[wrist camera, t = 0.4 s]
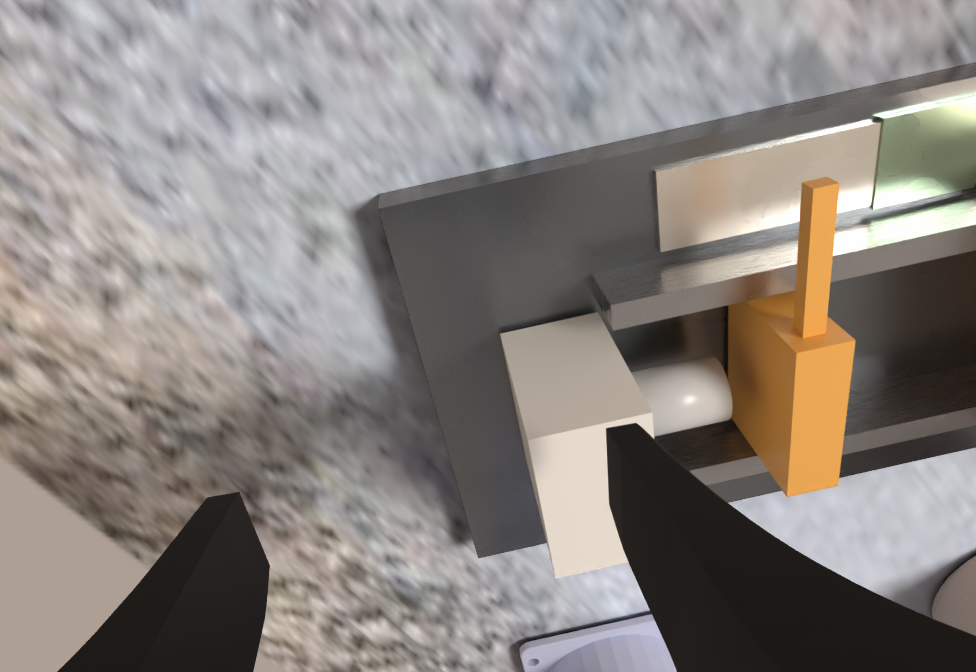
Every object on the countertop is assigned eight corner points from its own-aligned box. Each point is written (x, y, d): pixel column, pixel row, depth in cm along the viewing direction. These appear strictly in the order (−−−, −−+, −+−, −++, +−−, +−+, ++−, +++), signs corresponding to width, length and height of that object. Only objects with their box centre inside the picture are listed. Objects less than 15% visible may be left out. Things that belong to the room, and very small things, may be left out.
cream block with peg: (525, 458, 22) (555, 578, 18) (500, 333, 20) (527, 440, 16) (698, 419, 23) (769, 530, 18) (695, 290, 20) (776, 384, 16)
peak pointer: (727, 413, 23) (787, 496, 19) (728, 152, 18) (807, 200, 14) (771, 403, 23) (837, 485, 19) (782, 140, 18) (874, 186, 14)
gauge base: (475, 534, 26) (499, 717, 20) (379, 194, 19) (369, 315, 13) (999, 417, 26) (1185, 563, 20) (1103, 34, 19) (1445, 77, 13)
